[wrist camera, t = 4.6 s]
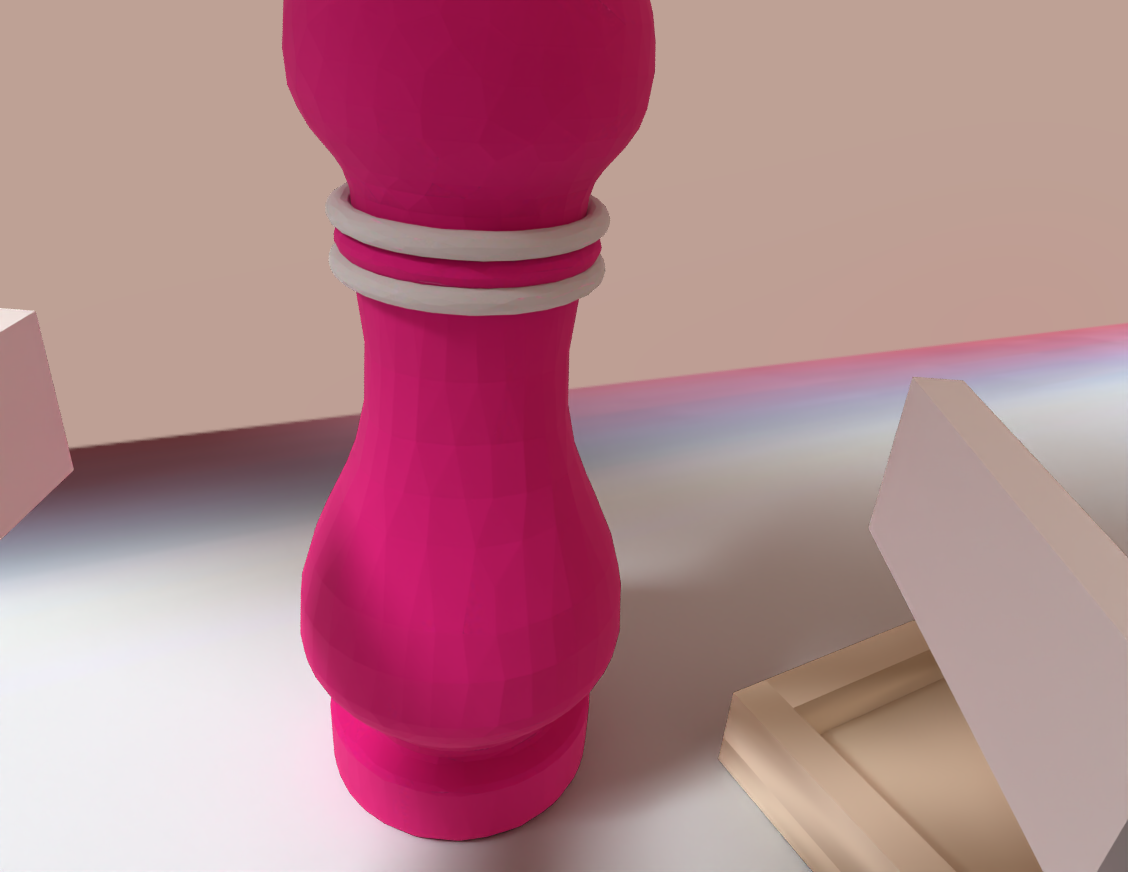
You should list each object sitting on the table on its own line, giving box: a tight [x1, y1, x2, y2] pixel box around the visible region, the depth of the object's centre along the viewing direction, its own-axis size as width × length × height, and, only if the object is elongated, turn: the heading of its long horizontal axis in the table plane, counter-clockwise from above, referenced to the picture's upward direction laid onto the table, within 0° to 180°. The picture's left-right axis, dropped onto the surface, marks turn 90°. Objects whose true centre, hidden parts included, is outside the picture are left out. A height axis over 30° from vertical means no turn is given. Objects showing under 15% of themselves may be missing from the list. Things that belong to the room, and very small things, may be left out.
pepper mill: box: [282, 0, 655, 841], centre depth 17 cm, size 7×7×20 cm
